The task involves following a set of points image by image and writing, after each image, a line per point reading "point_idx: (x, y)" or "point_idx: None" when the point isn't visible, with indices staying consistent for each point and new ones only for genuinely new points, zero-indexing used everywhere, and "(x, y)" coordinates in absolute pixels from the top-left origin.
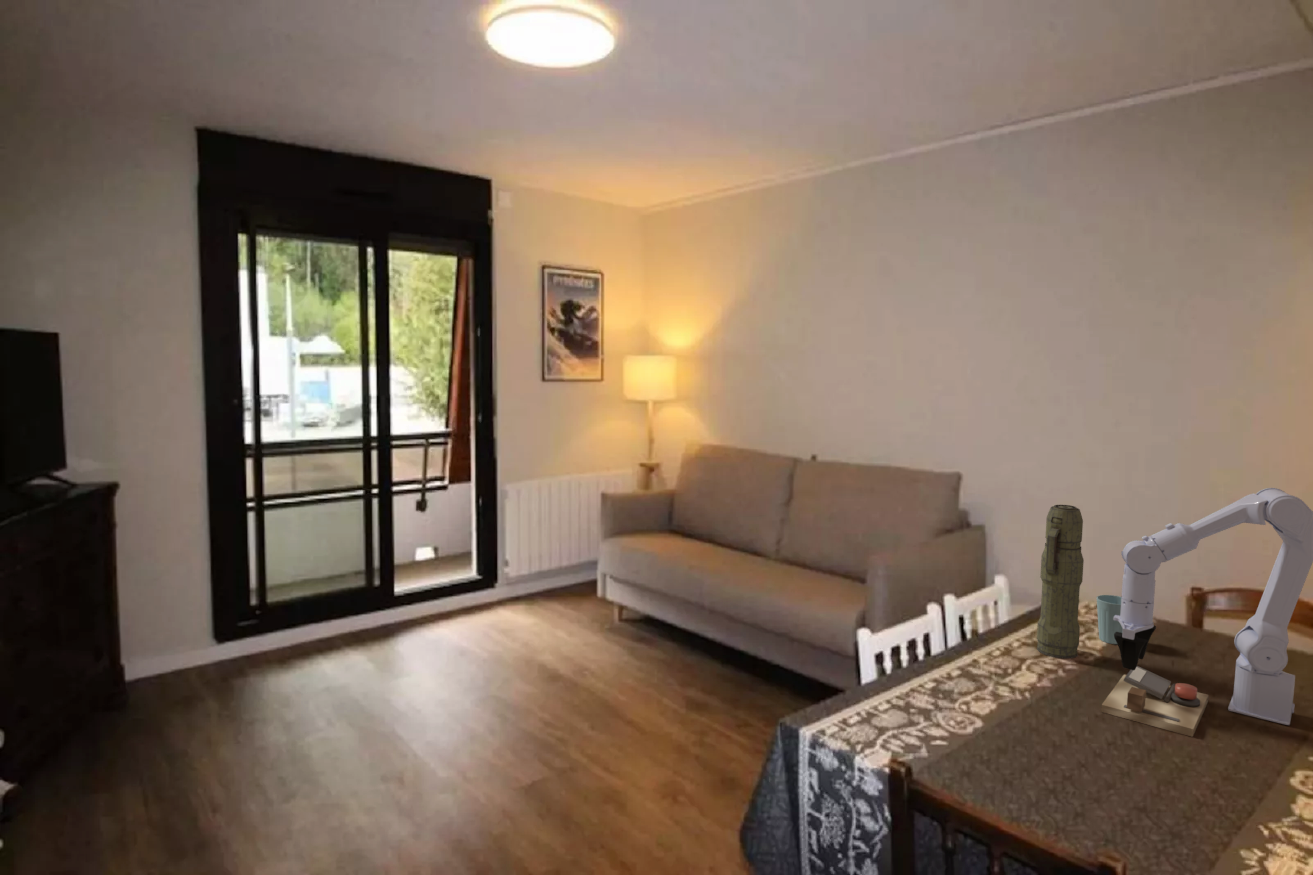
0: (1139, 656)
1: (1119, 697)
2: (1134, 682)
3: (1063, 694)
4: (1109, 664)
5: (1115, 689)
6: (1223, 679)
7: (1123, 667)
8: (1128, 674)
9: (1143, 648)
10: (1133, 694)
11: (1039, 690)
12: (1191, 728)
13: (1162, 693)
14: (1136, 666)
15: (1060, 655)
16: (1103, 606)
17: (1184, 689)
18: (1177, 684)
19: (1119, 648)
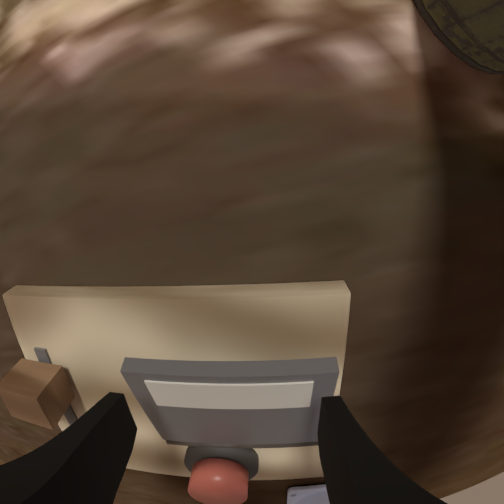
0: (319, 434)
1: (83, 329)
2: (133, 393)
3: (35, 150)
4: (486, 193)
5: (138, 307)
6: (485, 429)
7: (106, 394)
8: (174, 377)
9: (328, 483)
10: (2, 398)
11: (18, 83)
12: None
13: (177, 439)
14: (133, 443)
15: (427, 10)
16: None
17: (189, 492)
18: (216, 484)
19: (28, 453)
